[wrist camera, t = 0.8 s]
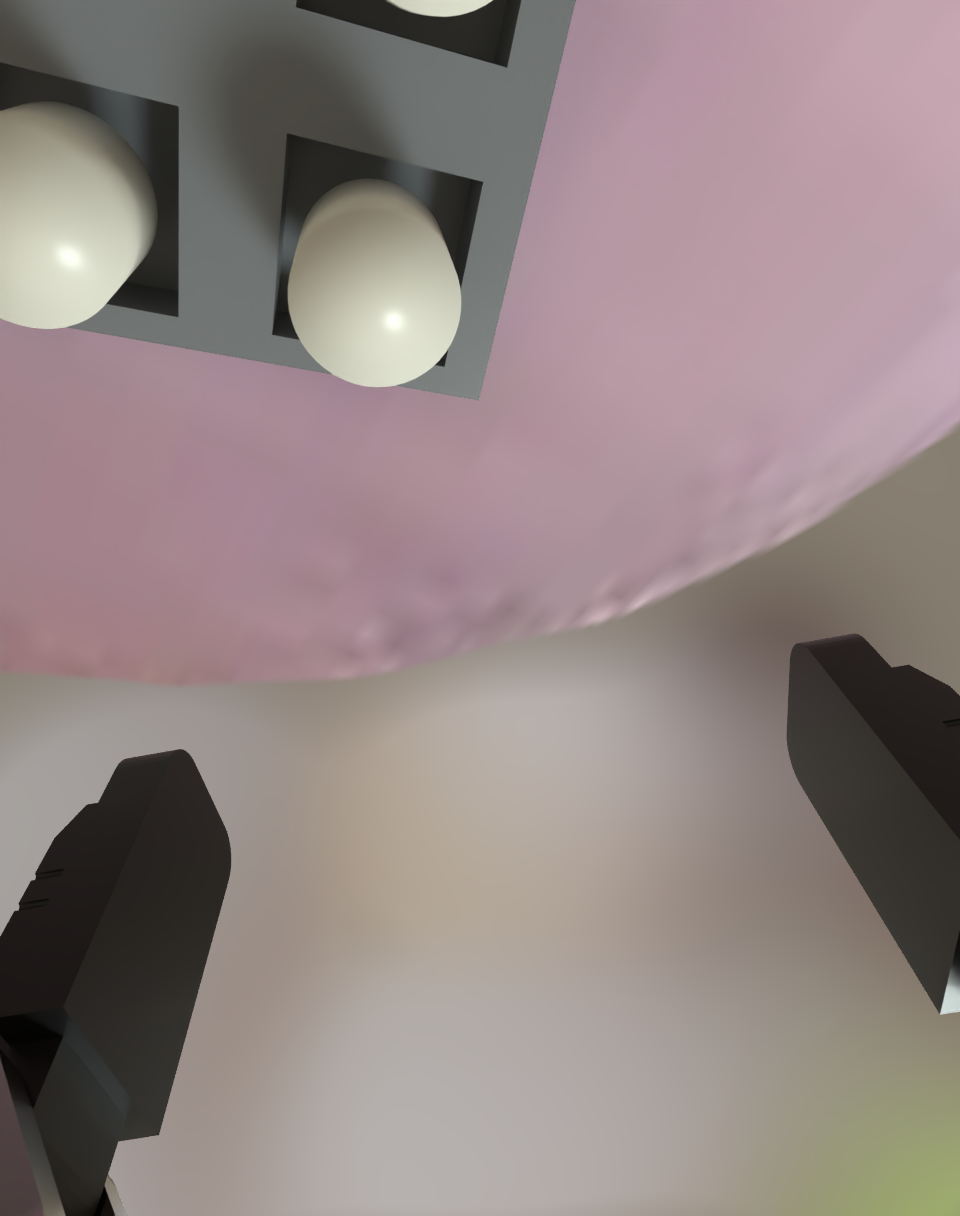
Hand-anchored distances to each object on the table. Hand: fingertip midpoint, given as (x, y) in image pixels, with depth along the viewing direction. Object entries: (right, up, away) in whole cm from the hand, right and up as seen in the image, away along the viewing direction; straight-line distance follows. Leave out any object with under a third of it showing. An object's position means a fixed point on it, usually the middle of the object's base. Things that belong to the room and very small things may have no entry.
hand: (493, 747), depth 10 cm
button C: (-12, +14, +13) cm, 23 cm away
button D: (-4, +13, +15) cm, 20 cm away
